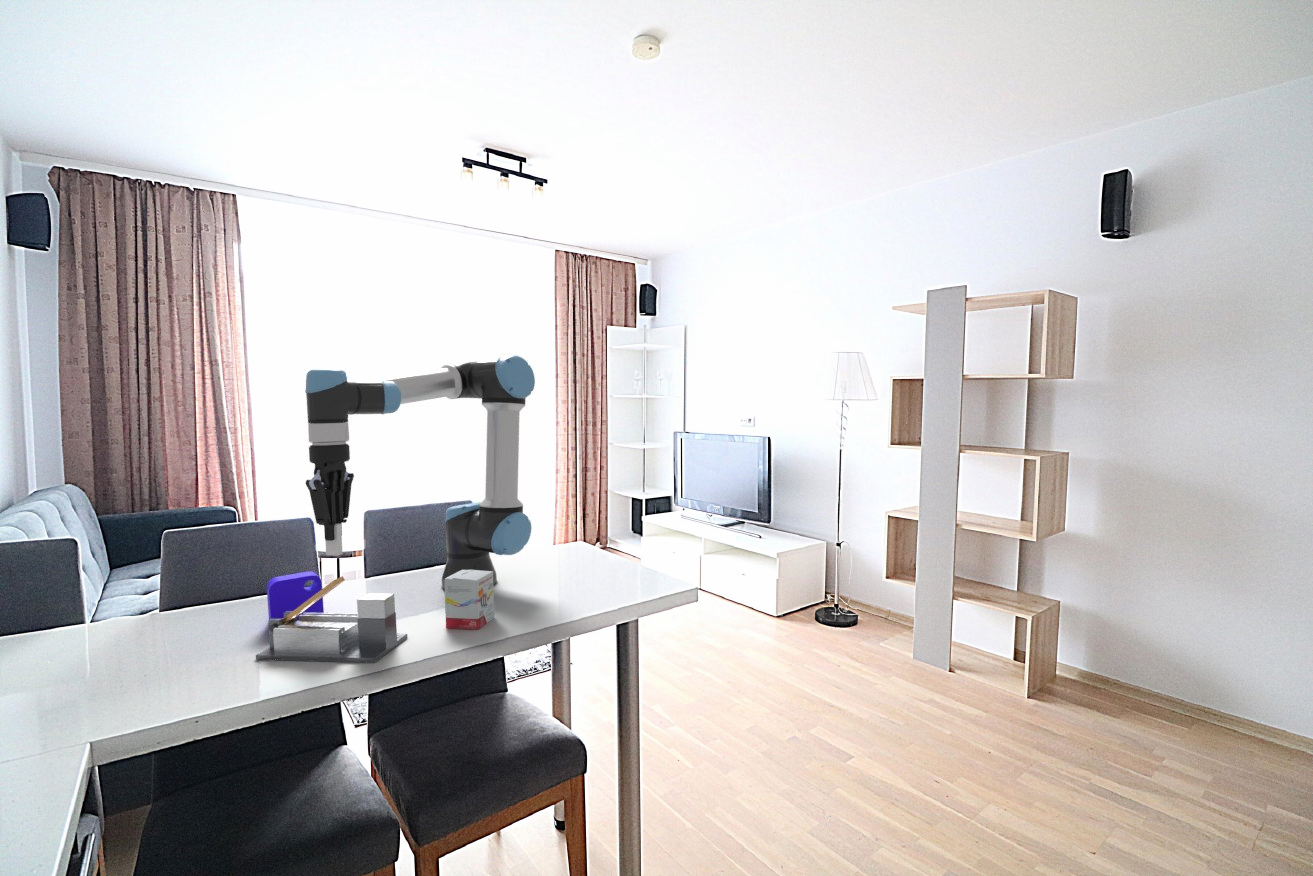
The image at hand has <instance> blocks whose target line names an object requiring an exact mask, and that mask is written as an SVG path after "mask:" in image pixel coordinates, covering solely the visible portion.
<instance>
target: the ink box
mask: <svg viewBox="0 0 1313 876" xmlns="http://www.w3.org/2000/svg"><path fill="white" fill-rule="evenodd" d="M444 583H445V589H444V604H445V613H444V614H445V628H446V629H453V630H454V629H456V630H477V631H478V630H480V629H481V628H482V627H484V626H485V625H487V623H489V622H491V621H492V620H493V619H495V603H494V602H495V601H494V600H495V599H494V597H495V596H494V595H495V594H494V584H493V571H480V570H461V571H459V572H457V573H455V574H453V575H451V576H449V577H447V578H445V580H444Z"/></svg>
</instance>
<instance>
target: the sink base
mask: <svg viewBox="0 0 1313 876" xmlns="http://www.w3.org/2000/svg"><path fill="white" fill-rule="evenodd" d="M291 612H292V611H286V612H284V617H286V616H287V615H288V614H290V613H291ZM396 615H397V613H396V611H395V612H394V613H393V614H391V615H390V616H388V617H387V618H385V619H376V618H358V612H357V613H354V612H347V613H346V612H324V613H303V615H299V620H298V621H297V617H295V618H294V619H293V620H292V622H291V623H290V624H289V625H282V619H270V620H269V619H268V621H267V622H268V635H269V638H268V639H269V647H268V648H266V649H264V650H262V651H261V652H259V653H257V654H255V660H257V661H283V662H285V661H288V662H292V661H293V662H322V663H323V662H327V663H330V662H331V663H362V664H363V663H364V664H365V663H366V664H369V663H370V664H375V663H377V662H379V661H380V660H381V659H382V658H383V657H384V656H386V655H387V654H388V653H390V652H391V651H392V650H394V649H395V648H396V647H397V646H399V645H400V644H401V643H403V642H404V641H405V640H407V639H408V633H403V632H402V633H397V631H398V629H397V616H396Z"/></svg>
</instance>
